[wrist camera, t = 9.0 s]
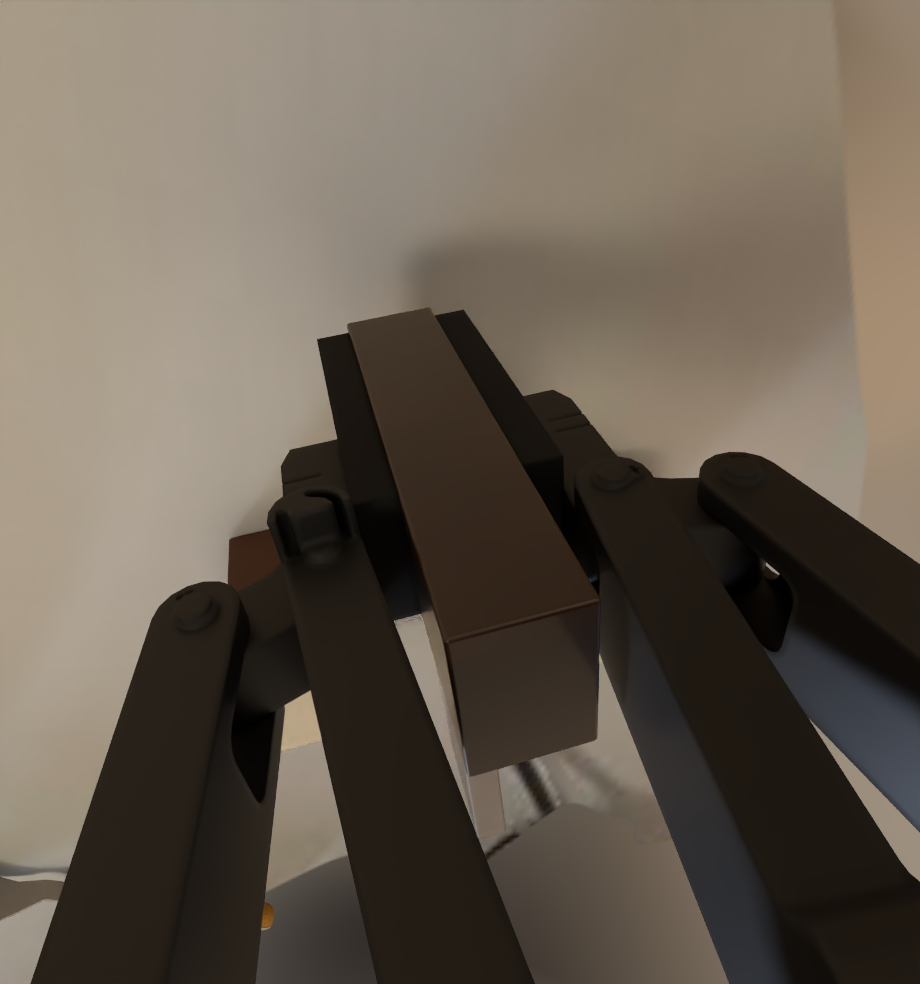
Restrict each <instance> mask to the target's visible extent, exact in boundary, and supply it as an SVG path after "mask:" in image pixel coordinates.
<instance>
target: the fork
mask: <svg viewBox="0 0 920 984" xmlns="http://www.w3.org/2000/svg"><path fill="white" fill-rule="evenodd" d="M63 885H64V882H62V881H54V880H37V881H23V882H18V881H14V880H10V879H6V878H2V877H0V921H1V920H4V919H6V918H8V917H11V916H13V915H15V914H17V913H19V912H21V911H23V910H25V909H27V908H29V907H32V906H34V905H36V904H38V903H40V902H42V901H51V902H58V900H59V897H60V894H61V891H62V888H63ZM273 920H274V910H273V907H272V906H271V905H270V904H268V903H264V908H263V917H262V927H261V930H265V929H269V928H270V927H271V925H272V923H273Z"/></svg>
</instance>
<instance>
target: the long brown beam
mask: <svg viewBox="0 0 920 984" xmlns="http://www.w3.org/2000/svg"><path fill="white" fill-rule="evenodd" d="M347 328H348V333H349V335H350V339H351V342H352V345H353V349H354V352H355V355H356V358H357V362H358V365H359V368H360V372H361V375H362V378H363V382H364V385H365V388H366V392H367V395H368V398H369V401H370V405H371V408H372V411H373V415H374V418H375V421H376V425H377V428H378V431H379V435H380V438H381V441H382V444H383V448H384V451H385V454H386V458H387V461H388V464H389V468H390V471H391V474H392V477H393V481H394V484H395V487H396V491H397V494H398V499H399V504H400V508H401V513H402V518H403V523H404V528H405V533H406V538H407V543H408V548H409V553H410V558H411V563H412V568H413V573H414V578H415V583H416V588H417V593H418V598H419V603H420V608H421V614H422V617H423V621H424V624H425V628H426V631H427V635H428V638H429V642H430V645H431V649H432V652H433V656H434V659H435V663H436V668H437V674H438V679H439V684H440V689H441V694H442V699H443V704H444V709H445V714H446V719H447V724H448V729H449V735H450V740H451V743H452V747H453V751H454V754H455V758H456V762H457V765H458V769H459V773H460V776H461V780H462V783H463V787H464V791H465V794H466V798H467V802H468V805H469V809H470V813H471V816H472V820H473V824H474V827H475V831H476V834H477V837H478V839H482V838H485V837H488V836H491V835H495V834H498V833H501V832H504V831H505V830H506V827H505V819H504V811H503V804H502V796H501V788H500V781H499V773H498V769H500V768H503V767H507V766H510V765H514V764H517V763H520V762H524V761H527V760H530V759H534V758H537V757H541V756H544V755H547V754H551V753H554V752H558V751H561V750H564V749H568V748H571V747H574V746H578V745H581V744H585V743H588V742H591V741H594V740H596V739H597V728H598V690H599V652H600V614H601V599H600V597H599V596H598V594H597V592H596V591H595V589H594V587H593V585H592V584H591V582H590V580H589V579H588V577H587V575H586V573H585V572H584V570H583V568H582V567H581V565H580V563H579V562H578V560H577V558H576V556H575V555H574V553H573V551H572V550H571V548H570V546H569V544H568V543H567V541H566V539H565V538H564V536H563V534H562V532H561V531H560V529H559V527H558V526H557V524H556V522H555V521H554V519H553V517H552V515H551V514H550V512H549V510H548V509H547V507H546V505H545V503H544V502H543V500H542V498H541V497H540V495H539V493H538V492H537V490H536V488H535V486H534V485H533V483H532V481H531V480H530V478H529V476H528V474H527V473H526V471H525V469H524V468H523V466H522V464H521V463H520V461H519V459H518V457H517V456H516V454H515V452H514V451H513V449H512V447H511V445H510V444H509V442H508V440H507V439H506V437H505V435H504V433H503V432H502V430H501V428H500V427H499V425H498V423H497V422H496V420H495V418H494V416H493V415H492V413H491V411H490V410H489V408H488V406H487V404H486V403H485V401H484V399H483V398H482V396H481V394H480V393H479V391H478V389H477V387H476V386H475V384H474V382H473V381H472V379H471V377H470V375H469V374H468V372H467V370H466V369H465V367H464V365H463V363H462V362H461V360H460V358H459V357H458V355H457V353H456V352H455V350H454V348H453V346H452V345H451V343H450V341H449V340H448V338H447V336H446V334H445V333H444V331H443V329H442V328H441V326H440V324H439V323H438V321H437V319H436V317H435V316H434V314H433V312H432V311H431V309H430V308H424V309H419V310H414V311H409V312H403V313H398V314H393V315H388V316H383V317H378V318H373V319H368V320H363V321H358V322H353V323H349V324H348V325H347Z"/></svg>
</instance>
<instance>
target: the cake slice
mask: <svg viewBox="0 0 920 984" xmlns="http://www.w3.org/2000/svg"><path fill="white" fill-rule="evenodd" d="M280 562H281V560H280V557H279V555H278V552H277V549H276V546H275V543H274V541H273V538H272V535H271V532H270V530H268V531H264V532H260V533H255V534H251V535H247V536H243V537H238V538H234V539H230V540H229V562H228V585H231V586H232V587H233V588H234V589H235V590H236V592H237V591H239V590H241V589H243V588H245V587H247V586H249V585H252V584H254V583H255V582H257V581H259V580H260V579H262V578H264V577H266V576H267V575H268V574H269V573H270V572H272V571H273V570H274V569H275V568H276V567H277V566H278V564H279V563H280ZM284 706H285V717H284V726H283V735H282V744H281V751H285V750H288V749H292V748H296V747H299V746H303V745H306V744H310V743H314V742H317V741H321V740H322V738H321V734H320V730H319V725H318V721H317V716H316V712H315V708H314V703H313V699H312V695H311V690H310V691H309V692H307V693H305V694H303V695H302V696H300V697H298V698H297V699H295V700H293V701H291V702H290V703H288V704H286V705H284Z"/></svg>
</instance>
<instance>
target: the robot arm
mask: <svg viewBox="0 0 920 984" xmlns="http://www.w3.org/2000/svg"><path fill="white" fill-rule="evenodd" d="M435 317H436V319H437V321H438V323H439V324H440V326H441V328H442V329H443V331H444V333H445V334H446V336H447V338H448V340H449V341H450V343H451V345H452V346H453V348H454V350H455V352H456V353H457V355H458V357H459V358H460V360H461V362H462V363H463V365H464V367H465V369H466V370H467V372H468V374H469V375H470V377H471V379H472V381H473V382H474V384H475V386H476V387H477V389H478V391H479V393H480V394H481V396H482V398H483V399H484V401H485V403H486V404H487V406H488V408H489V410H490V411H491V413H492V415H493V416H494V418H495V420H496V422H497V423H498V425H499V427H500V428H501V430H502V432H503V433H504V435H505V437H506V439H507V440H508V442H509V444H510V445H511V447H512V449H513V451H514V452H515V454H516V456H517V457H518V459H519V461H520V463H521V464H522V466H523V468H524V469H525V471H526V473H527V474H528V476H529V478H530V480H531V481H532V483H533V485H534V486H535V488H536V490H537V492H538V493H539V495H540V497H541V498H542V500H543V502H544V503H545V505H546V507H547V509H548V510H549V512H550V514H551V515H552V517H553V519H554V521H555V522H556V524H557V526H558V527H559V529H560V531H561V532H562V534H563V536H564V538H565V539H566V541H567V543H568V544H569V546H570V548H571V550H572V551H573V553H574V555H575V556H576V558H577V560H578V562H579V563H580V565H581V567H582V568H583V570H584V572H585V573H586V575H587V577H588V579H589V580H590V582H591V584H592V585H593V587H594V589H595V591H596V592H597V594H598V596H599V597H600V599H601V614H600V652H599V654H600V656H601V659H602V661H603V664H604V667H605V669H606V672H607V674H608V677H609V679H610V682H611V684H612V687H613V689H614V692H615V694H616V697H617V700H618V702H619V705H620V707H621V710H622V712H623V715H624V717H625V720H626V722H627V725H628V728H629V730H630V733H631V735H632V738H633V740H634V743H635V745H636V748H637V750H638V753H639V755H640V758H641V761H642V763H643V766H644V768H645V771H646V773H647V776H648V778H649V781H650V783H651V786H652V788H653V791H654V794H655V796H656V799H657V801H658V804H659V806H660V809H661V811H662V814H663V816H664V819H665V822H666V824H667V827H668V829H669V832H670V834H671V837H672V839H673V842H674V844H675V847H676V849H677V852H678V854H679V857H680V860H681V862H682V865H683V867H684V870H685V872H686V875H687V877H688V880H689V882H690V885H691V887H692V890H693V893H694V895H695V898H696V900H697V903H698V905H699V908H700V910H701V913H702V915H703V918H704V921H705V923H706V926H707V928H708V931H709V933H710V936H711V938H712V941H713V943H714V946H715V949H716V951H717V954H718V956H719V959H720V961H721V964H722V966H723V969H724V971H725V974H726V977H727V979H728V981H729V984H920V882H919V881H918V880H917V879H916V878H915V877H913V876H912V875H911V874H910V873H909V872H908V871H907V869H906V868H905V867H904V865H903V864H902V863H901V862H900V860H899V859H898V857H897V855H896V854H895V853H894V851H893V849H892V848H891V846H890V845H889V843H888V841H887V840H886V838H885V837H884V835H883V834H882V832H881V831H880V829H879V827H878V826H877V825H876V823H875V821H874V820H873V818H872V817H871V815H870V813H869V812H868V810H867V809H866V807H865V806H864V804H863V803H862V801H861V799H860V798H859V796H858V795H857V793H856V792H855V790H854V789H853V787H852V785H851V784H850V782H849V781H848V780H847V778H846V776H845V775H844V773H843V771H842V770H841V768H840V767H839V765H838V764H837V762H836V761H835V759H834V757H833V756H832V754H831V753H830V751H829V750H828V748H827V746H826V745H825V743H824V742H823V740H822V739H821V737H820V736H819V734H818V732H817V731H816V729H815V728H814V726H813V725H812V723H811V722H810V720H811V721H812V722H813V723H814V724H815V725H816V726H817V727H818V728H819V729H820V730H821V731H822V732H823V733H824V734H825V735H826V736H827V737H828V738H829V739H830V740H831V741H832V742H833V744H834V745H835V746H836V747H837V748H838V749H839V750H840V751H841V752H842V753H843V754H844V755H845V756H846V757H847V758H848V759H849V760H850V761H851V762H852V763H853V764H854V765H855V766H856V767H857V768H858V769H859V770H860V771H861V772H862V773H863V774H864V775H865V776H866V777H867V778H868V780H869V781H870V782H871V783H872V784H873V785H874V786H875V787H876V788H877V789H878V790H879V791H880V792H881V793H882V794H883V795H884V796H885V797H886V798H887V799H888V800H889V801H890V802H891V803H892V804H893V805H894V806H895V807H896V808H897V809H898V810H899V811H900V813H902V815H903V816H904V817H905V818H906V819H907V820H908V821H909V822H910V823H911V824H912V825H913V826H914V827H915V828H916V829H917V830H918V831H919V832H920V564H919V563H917V562H916V561H914V560H913V559H912V558H910V557H909V556H907V555H906V554H904V553H903V552H901V551H900V550H898V549H897V548H896V547H894V546H893V545H891V544H890V543H888V542H887V541H886V540H884V539H883V538H881V537H880V536H878V535H877V534H876V533H874V532H873V531H871V530H870V529H868V528H867V527H865V526H864V525H863V524H861V523H860V522H858V521H857V520H855V519H854V518H853V517H851V516H850V515H848V514H847V513H845V512H844V511H842V510H841V509H840V508H838V507H837V506H835V505H834V504H832V503H831V502H830V501H828V500H827V499H825V498H824V497H822V496H821V495H819V494H818V493H817V492H815V491H814V490H812V489H811V488H809V487H808V486H806V485H805V484H804V483H802V482H801V481H799V480H798V479H796V478H795V477H794V476H792V475H791V474H789V473H788V472H786V471H785V470H783V469H782V468H781V467H779V466H778V465H776V464H775V463H773V462H771V461H769V460H767V459H765V458H763V457H761V456H758V455H754V454H749V453H745V452H727V453H723V454H718V455H714V456H713V457H711V458H709V459H707V460H705V462H704V463H703V465H702V466H701V468H700V473H699V478H674V479H668V478H655V477H653V476H652V474H651V472H650V471H649V470H648V469H647V468H646V467H645V466H644V465H642V464H641V463H638V462H636V461H634V460H632V459H629V458H623V457H617V456H616V454H615V453H614V452H613V451H612V449H611V448H610V447H609V446H608V444H607V443H606V442H605V441H604V439H603V438H602V437H601V436H600V434H599V433H598V432H597V431H596V429H595V428H594V427H593V426H592V425H590V422H589V421H588V419H587V418H586V417H585V416H584V414H582V412H581V411H580V409H579V408H578V407H577V406H576V404H575V403H574V402H573V401H572V399H570V398H568V397H566V396H564V395H562V394H560V393H558V392H556V391H554V390H549V391H545V392H540V393H536V394H531V395H527V396H522V394H521V393H520V391H519V390H518V388H517V387H516V386H515V384H514V383H513V381H512V380H511V378H510V377H509V375H508V374H507V372H506V371H505V369H504V368H503V367H502V365H501V364H500V362H499V361H498V359H497V358H496V356H495V355H494V353H493V352H492V350H491V349H490V348H489V346H488V345H487V343H486V342H485V340H484V339H483V337H482V336H481V334H480V333H479V331H478V330H477V329H476V327H475V326H474V324H473V323H472V321H471V320H470V318H469V317H468V315H467V314H466V312H465V311H464V310H460V311H455V312H450V313H445V314H440V315H435ZM317 342H318V347H319V352H320V356H321V361H322V366H323V371H324V376H325V381H326V385H327V390H328V395H329V400H330V405H331V410H332V415H333V419H334V424H335V429H336V434H337V440H332V441H328V442H324V443H319V444H315V445H310V446H306V447H301V448H297V449H292V450H290V451H289V453H288V455H287V456H286V458H285V460H284V462H283V463H282V465H281V474H282V483H283V485H282V487H283V497H282V498H280V499H279V500H278V501H276V502H275V504H274V505H273V506H272V508H271V509H270V511H269V512H268V519H267V524H268V527H269V530H270V532H271V535H272V538H273V541H274V543H275V546H276V549H277V552H278V555H279V557H280V560H281V562H280V563H279V564H278V566H277V567H276V568H275V569H274V570H273V571H272V572H270V573H269V574H268V575H267V576H266V577H264V578H262V579H260V580H259V581H257V582H255V583H254V584H252V585H249V586H247V587H245V588H243V589H241V590H239V591H237V592H236V590H235V589H234V588H233V587H232V586H231V585H228V584H225V583H222V582H201V583H198V584H194V585H191V586H187V587H185V588H184V589H182V590H180V591H178V592H176V593H174V594H173V595H171V596H170V597H169V598H168V599H167V600H166V601H165V602H163V603H162V604H161V605H160V606H159V608H158V609H157V611H156V613H155V615H154V616H153V618H152V620H151V623H150V626H149V629H148V632H147V635H146V638H145V641H144V644H143V647H142V650H141V653H140V656H139V659H138V662H137V665H136V668H135V671H134V674H133V677H132V680H131V683H130V686H129V689H128V692H127V695H126V698H125V701H124V704H123V707H122V710H121V713H120V716H119V719H118V722H117V725H116V728H115V731H114V734H113V737H112V740H111V743H110V746H109V749H108V752H107V755H106V758H105V761H104V765H103V768H102V771H101V774H100V777H99V780H98V783H97V786H96V789H95V792H94V795H93V798H92V801H91V804H90V807H89V810H88V813H87V816H86V819H85V822H84V825H83V828H82V831H81V834H80V837H79V840H78V843H77V846H76V849H75V852H74V855H73V858H72V861H71V864H70V867H69V870H68V873H67V876H66V879H65V882H64V885H63V888H62V891H61V894H60V897H59V900H58V903H57V906H56V909H55V912H54V915H53V918H52V921H51V924H50V927H49V930H48V933H47V936H46V939H45V942H44V945H43V948H42V951H41V954H40V957H39V960H38V963H37V966H36V969H35V972H34V975H33V978H32V981H31V984H255V981H256V972H257V963H258V954H259V945H260V936H261V927H262V917H263V908H264V899H265V890H266V881H267V872H268V863H269V854H270V844H271V835H272V826H273V817H274V808H275V799H276V790H277V780H278V771H279V762H280V753H281V744H282V735H283V726H284V717H285V706H284V705H286V704H288V703H290V702H291V701H293V700H295V699H297V698H298V697H300V696H302V695H303V694H305V693H307V692H309V691H310V690H311V695H312V699H313V703H314V708H315V712H316V716H317V721H318V725H319V730H320V734H321V738H322V743H323V747H324V751H325V756H326V760H327V765H328V769H329V773H330V778H331V782H332V786H333V791H334V795H335V800H336V804H337V808H338V813H339V817H340V821H341V826H342V830H343V835H344V839H345V843H346V848H347V852H348V856H349V861H350V865H351V870H352V874H353V878H354V883H355V887H356V891H357V896H358V900H359V904H360V909H361V913H362V917H363V922H364V926H365V931H366V935H367V939H368V944H369V948H370V952H371V956H372V961H373V965H374V970H375V974H376V979H377V983H378V984H535V983H534V980H533V978H532V975H531V973H530V970H529V968H528V965H527V963H526V960H525V958H524V955H523V952H522V950H521V947H520V945H519V942H518V940H517V937H516V935H515V932H514V929H513V927H512V924H511V922H510V919H509V917H508V914H507V911H506V909H505V906H504V904H503V901H502V898H501V896H500V893H499V891H498V888H497V886H496V883H495V880H494V878H493V875H492V873H491V870H490V868H489V865H488V862H487V860H486V857H485V855H484V852H483V850H482V847H481V844H480V842H479V839H478V837H477V834H476V832H475V829H474V826H473V824H472V821H471V819H470V816H469V814H468V811H467V808H466V806H465V803H464V801H463V798H462V796H461V793H460V791H459V788H458V785H457V783H456V780H455V778H454V775H453V773H452V770H451V767H450V765H449V762H448V760H447V757H446V755H445V752H444V749H443V747H442V744H441V742H440V739H439V737H438V734H437V731H436V729H435V726H434V724H433V721H432V719H431V716H430V713H429V711H428V708H427V706H426V703H425V701H424V698H423V695H422V693H421V690H420V688H419V685H418V683H417V680H416V677H415V675H414V672H413V670H412V667H411V665H410V662H409V659H408V657H407V654H406V652H405V649H404V647H403V644H402V641H401V639H400V636H399V634H398V631H397V629H396V626H395V623H394V620H398V619H402V618H406V617H410V616H413V615H417V614H421V608H420V603H419V598H418V593H417V588H416V583H415V578H414V573H413V568H412V563H411V558H410V553H409V548H408V543H407V538H406V533H405V528H404V523H403V518H402V513H401V508H400V504H399V499H398V494H397V491H396V487H395V484H394V481H393V477H392V474H391V471H390V468H389V464H388V461H387V458H386V454H385V451H384V448H383V444H382V441H381V438H380V435H379V431H378V428H377V425H376V421H375V418H374V415H373V411H372V408H371V405H370V401H369V398H368V395H367V392H366V388H365V385H364V382H363V378H362V375H361V372H360V368H359V365H358V362H357V358H356V355H355V352H354V349H353V345H352V342H351V339H350V335H349V333H346V334H341V335H336V336H331V337H326V338H321V339H317ZM766 562H767V563H768V564H769V565H770V566H771V567H773V568H774V569H775V570H776V571H777V572H778V573H780V574H779V575H777V574H776V573H774V572H772V571H771V570H770V569H769V568H768V567H767V566H766ZM809 719H810V720H809Z"/></svg>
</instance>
